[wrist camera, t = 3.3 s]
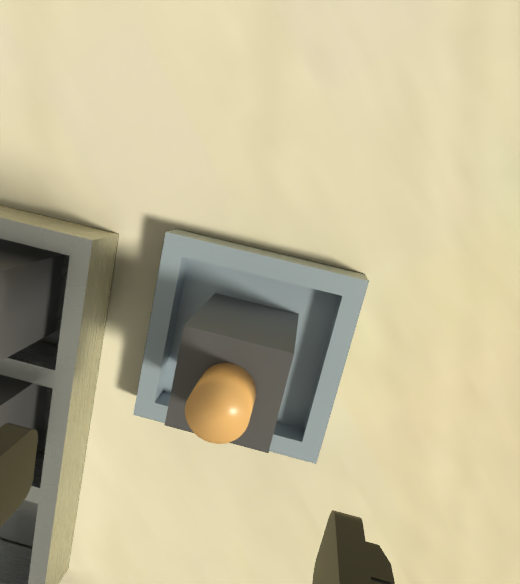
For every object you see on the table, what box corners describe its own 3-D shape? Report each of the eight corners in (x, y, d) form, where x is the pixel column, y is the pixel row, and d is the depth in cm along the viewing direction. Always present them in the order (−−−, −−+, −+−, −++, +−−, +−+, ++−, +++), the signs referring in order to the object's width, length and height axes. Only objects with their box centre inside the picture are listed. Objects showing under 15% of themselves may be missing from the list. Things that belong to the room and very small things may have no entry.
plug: (299, 313, 24) (291, 373, 16) (279, 391, 25) (263, 483, 17) (215, 292, 24) (168, 341, 16) (199, 371, 25) (147, 451, 17)
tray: (364, 274, 23) (368, 280, 22) (315, 445, 26) (316, 463, 24) (176, 228, 24) (165, 231, 22) (145, 399, 26) (133, 414, 25)
